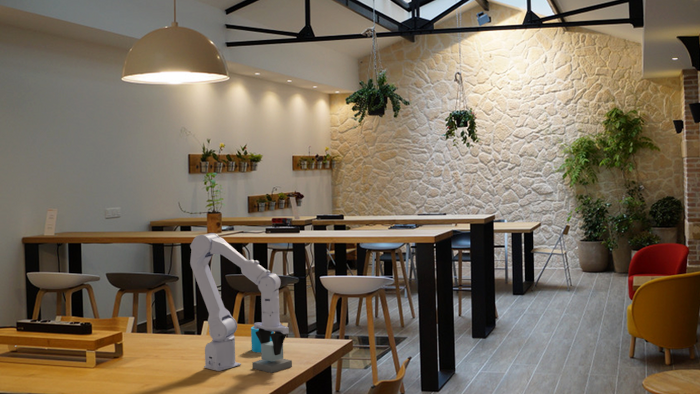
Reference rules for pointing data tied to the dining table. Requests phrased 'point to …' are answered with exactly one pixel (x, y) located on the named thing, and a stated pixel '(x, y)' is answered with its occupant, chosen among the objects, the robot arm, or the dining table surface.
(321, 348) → the dining table surface
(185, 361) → the dining table surface
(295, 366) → the dining table surface
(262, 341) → the robot arm
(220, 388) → the dining table surface
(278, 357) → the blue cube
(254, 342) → the mug
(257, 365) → the slate base
